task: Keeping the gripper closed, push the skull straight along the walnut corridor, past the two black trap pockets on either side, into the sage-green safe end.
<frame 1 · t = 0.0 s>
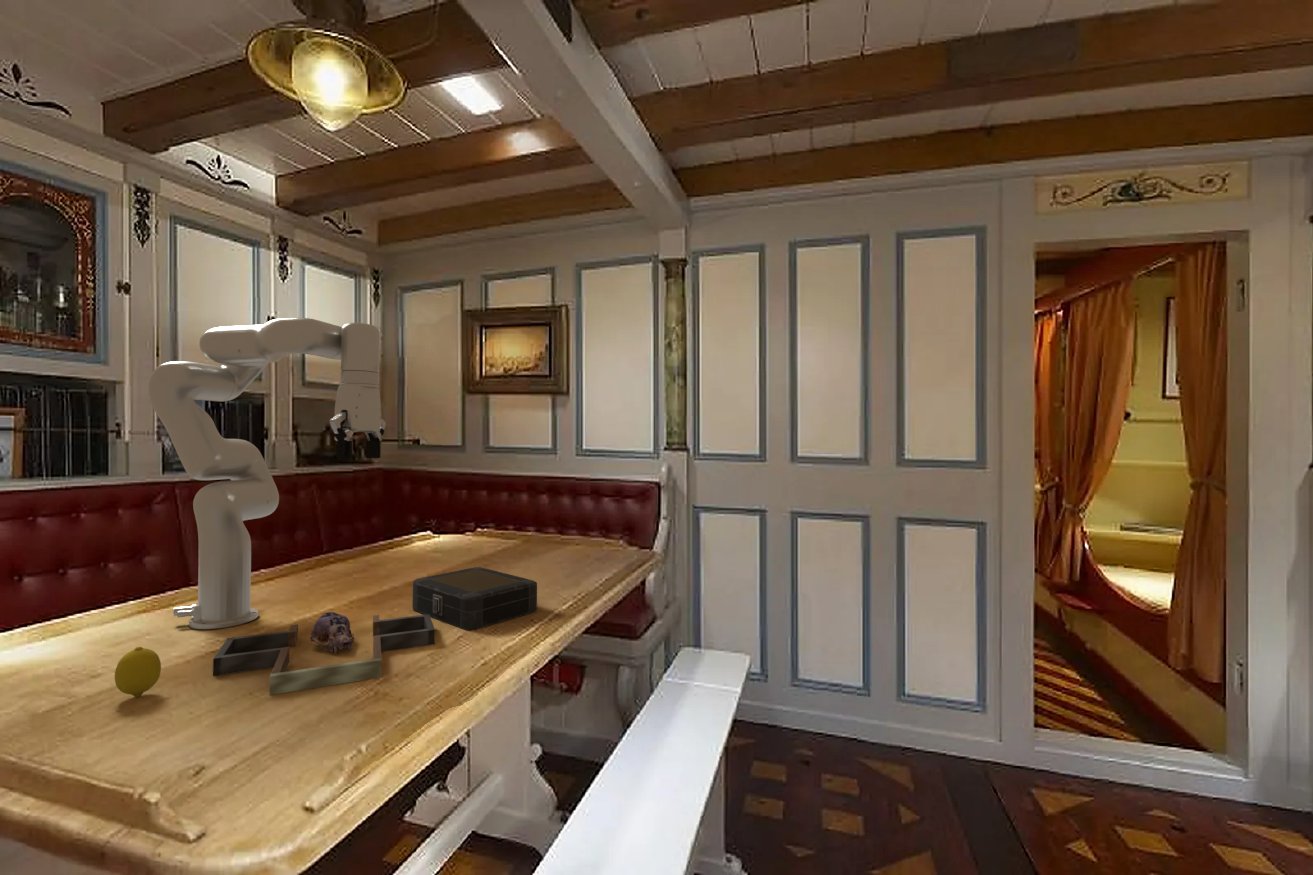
hand: (359, 458, 125), 37 cm above the table, tool pointing down, fingers open, 9 cm apart
skull: (334, 648, 115), on the table
cash box: (473, 612, 140), on the table
lemon: (137, 698, 92), on the table
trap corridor: (332, 655, 110), on the table
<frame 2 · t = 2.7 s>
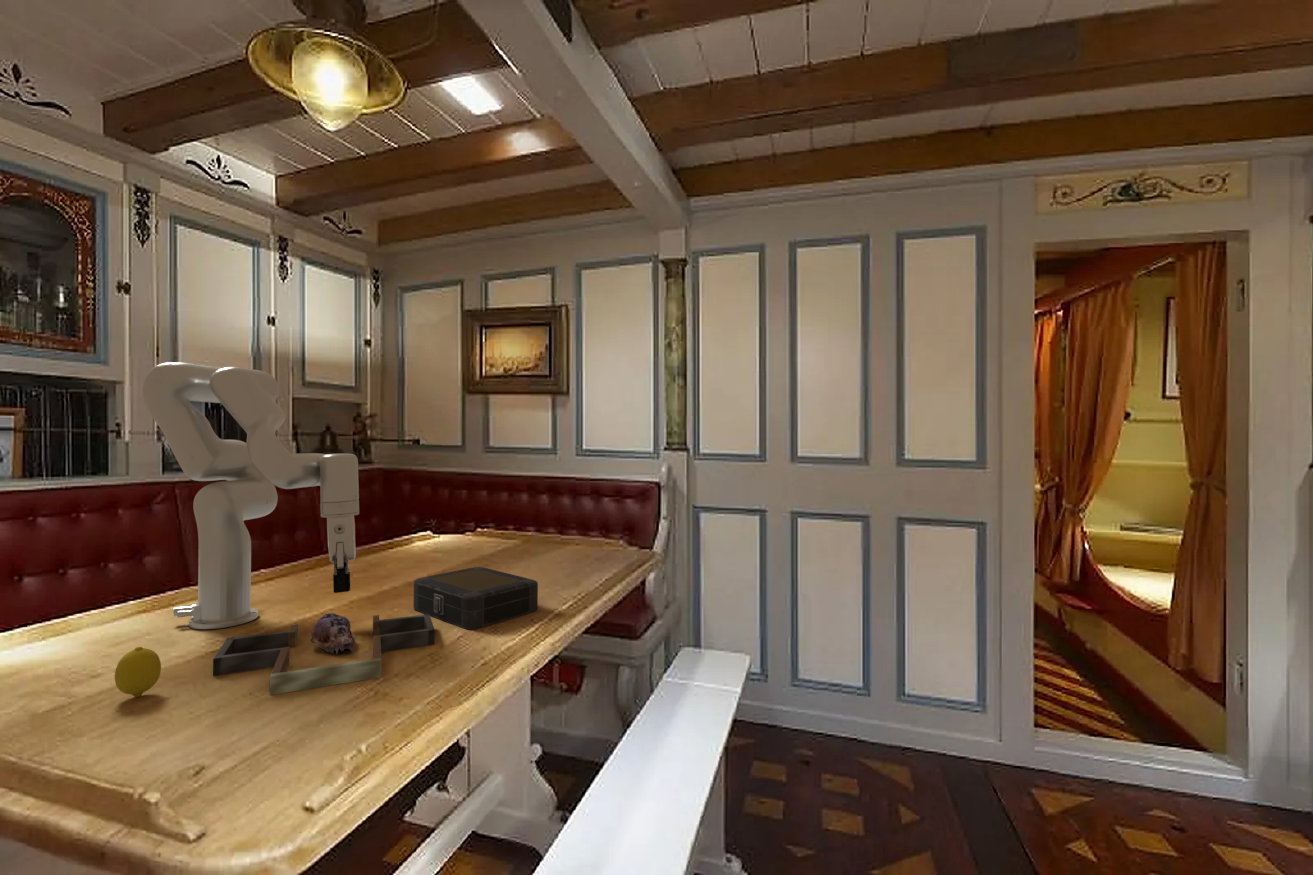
hand: (342, 591, 128), 8 cm above the table, tool pointing down, fingers closed
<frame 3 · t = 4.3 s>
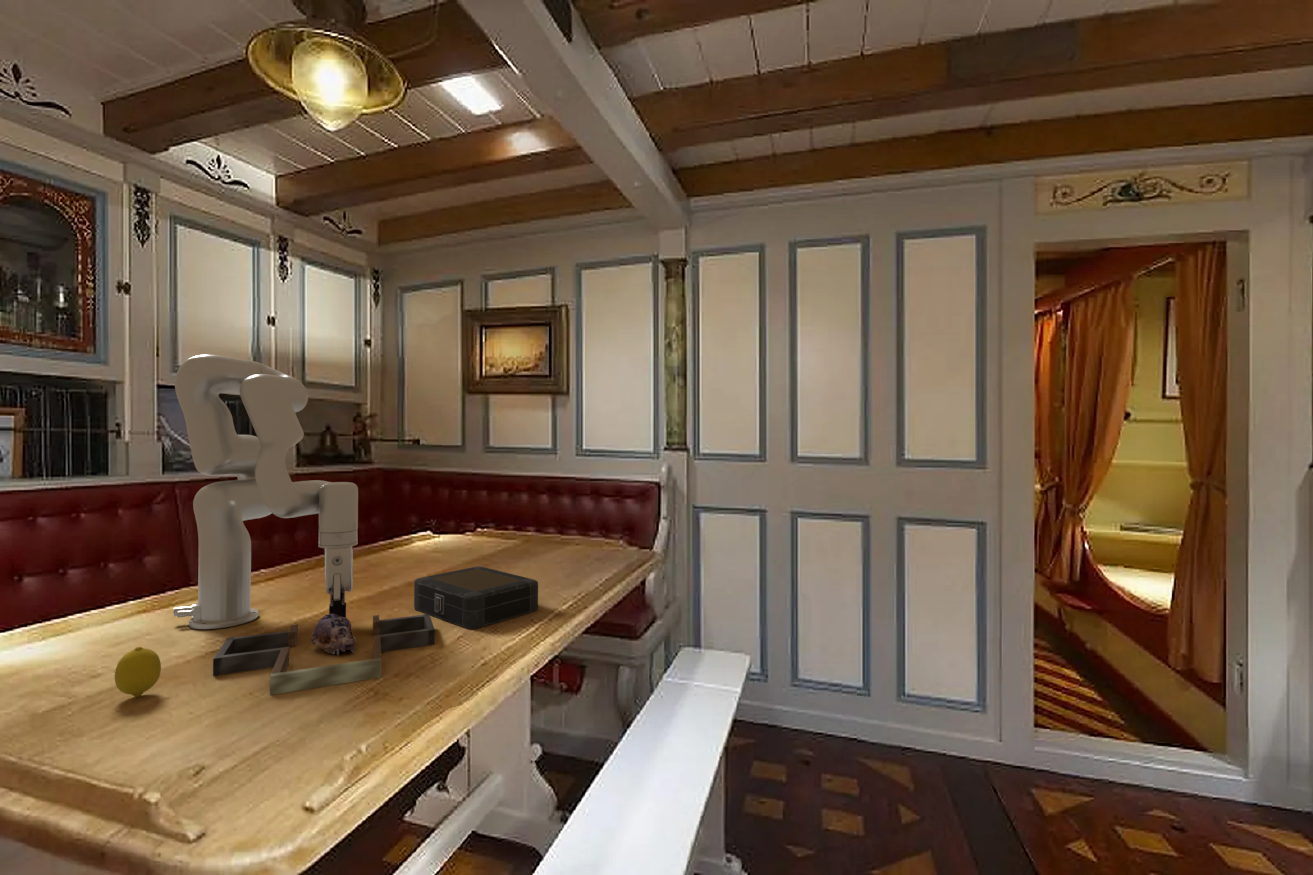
hand: (337, 622, 126), 1 cm above the table, tool pointing down, fingers closed
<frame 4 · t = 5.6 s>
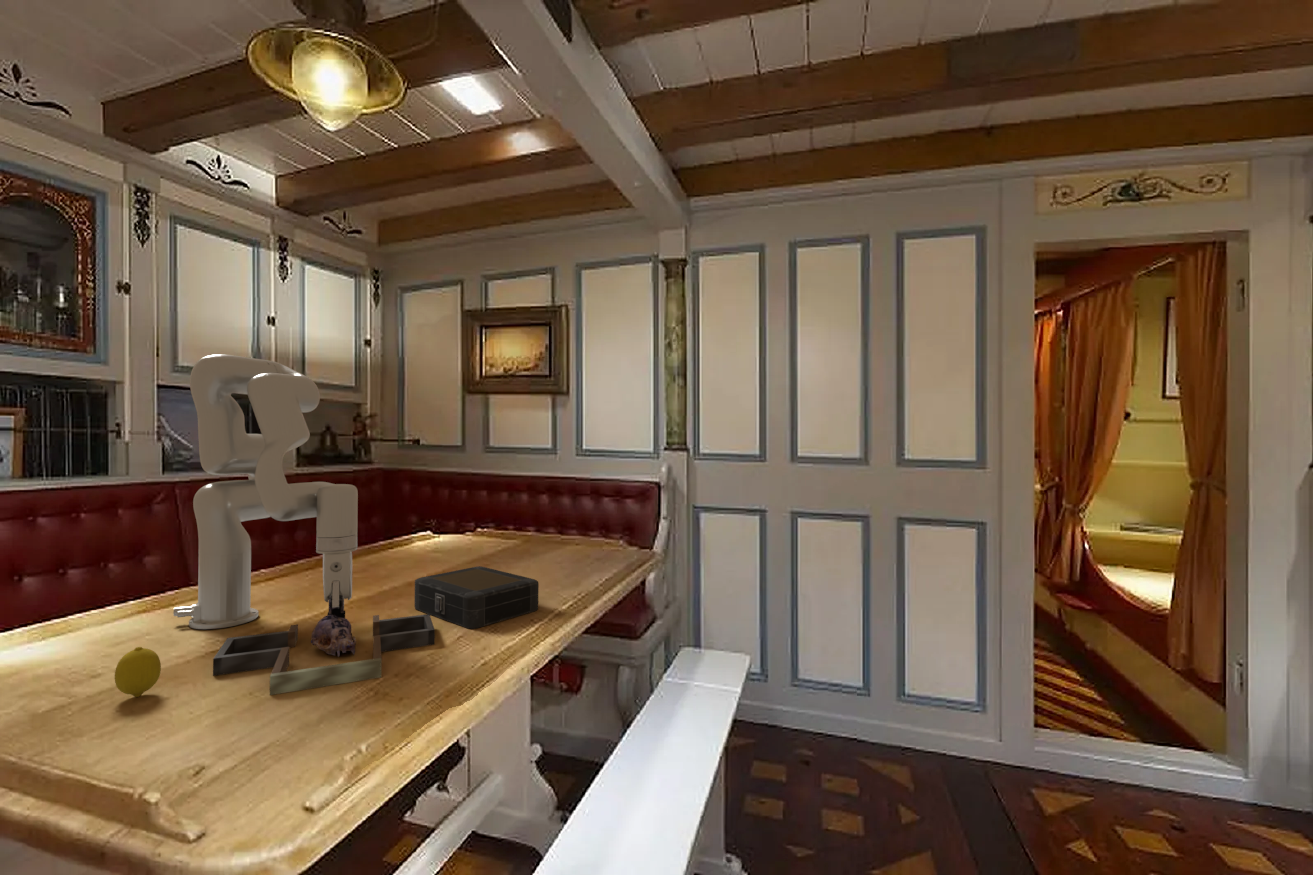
hand: (336, 631, 120), 1 cm above the table, tool pointing down, fingers closed
skull: (335, 652, 113), on the table, touching gripper
everything else where it was.
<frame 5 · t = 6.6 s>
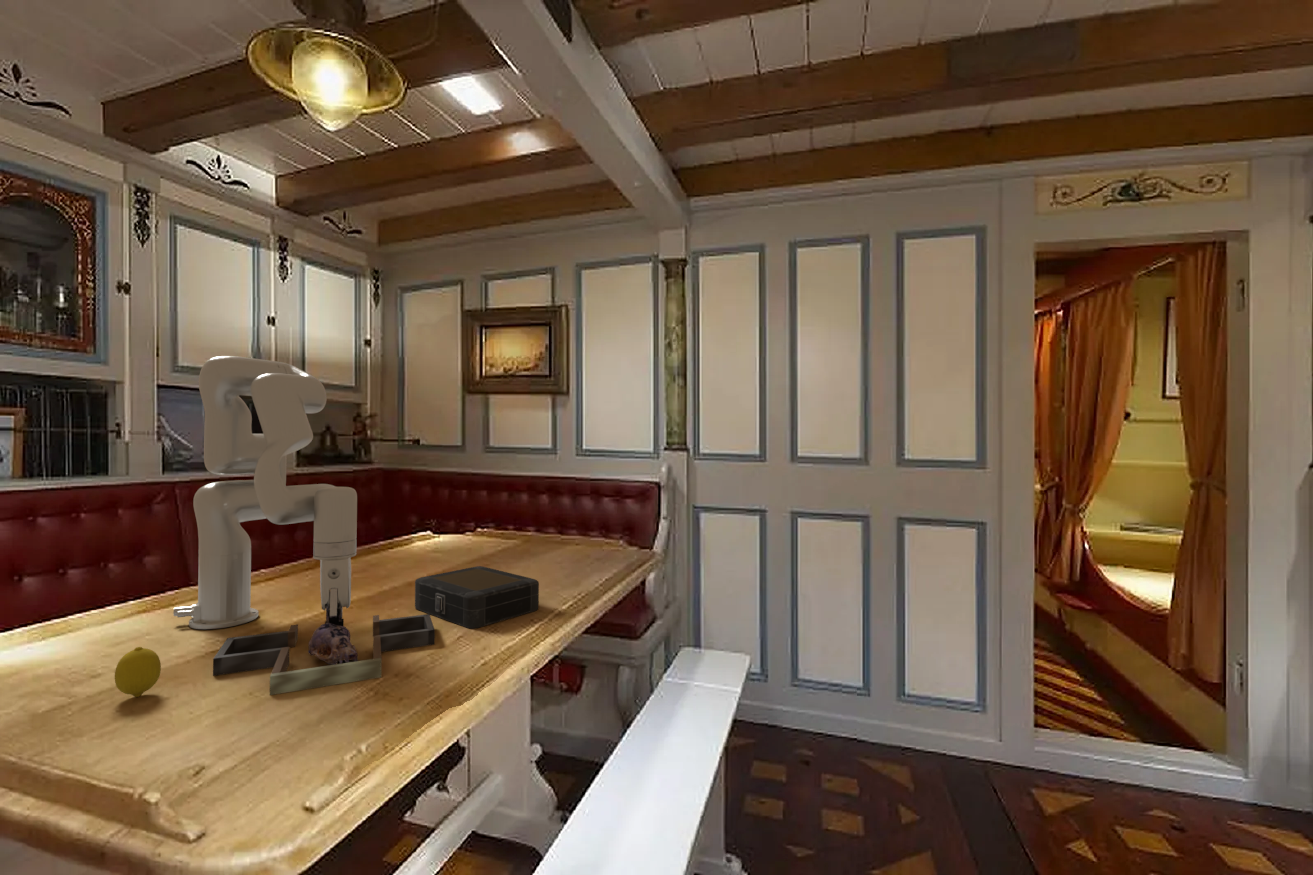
hand: (334, 640, 115), 1 cm above the table, tool pointing down, fingers closed
skull: (335, 661, 108), on the table, touching gripper
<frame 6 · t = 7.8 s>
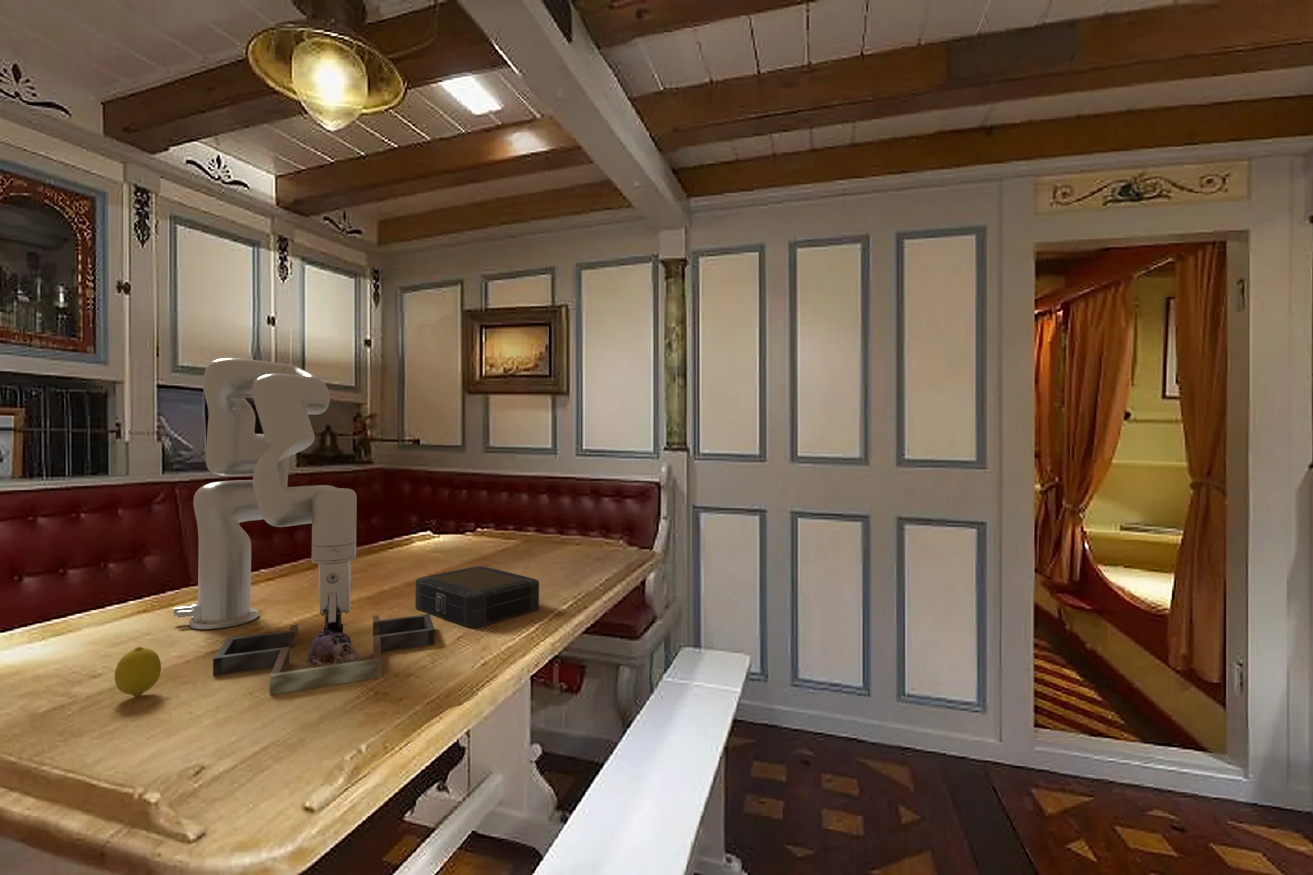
hand: (333, 646, 111), 1 cm above the table, tool pointing down, fingers closed
skull: (336, 669, 105), on the table, touching gripper
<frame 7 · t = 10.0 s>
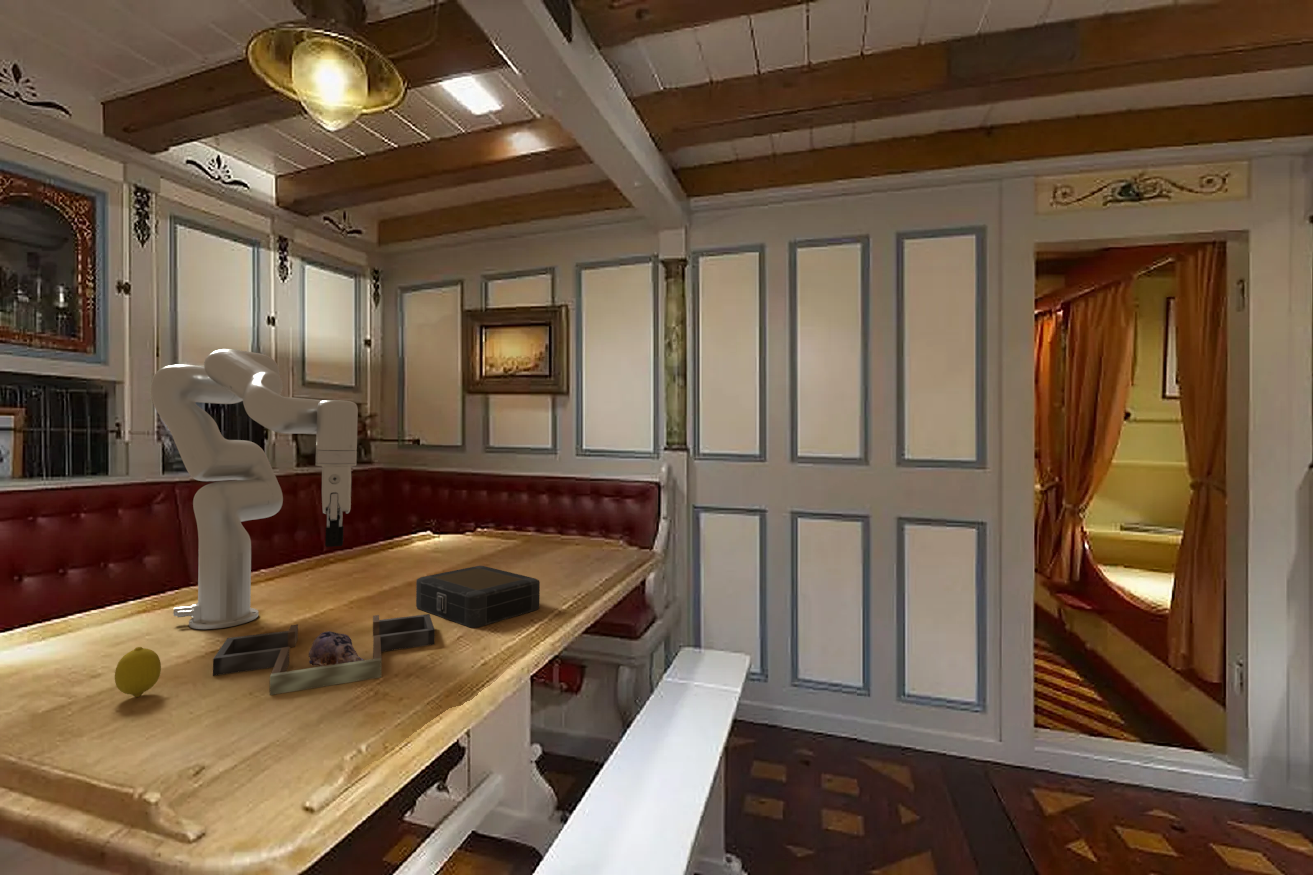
hand: (334, 545, 121), 19 cm above the table, tool pointing down, fingers closed
skull: (338, 671, 104), on the table
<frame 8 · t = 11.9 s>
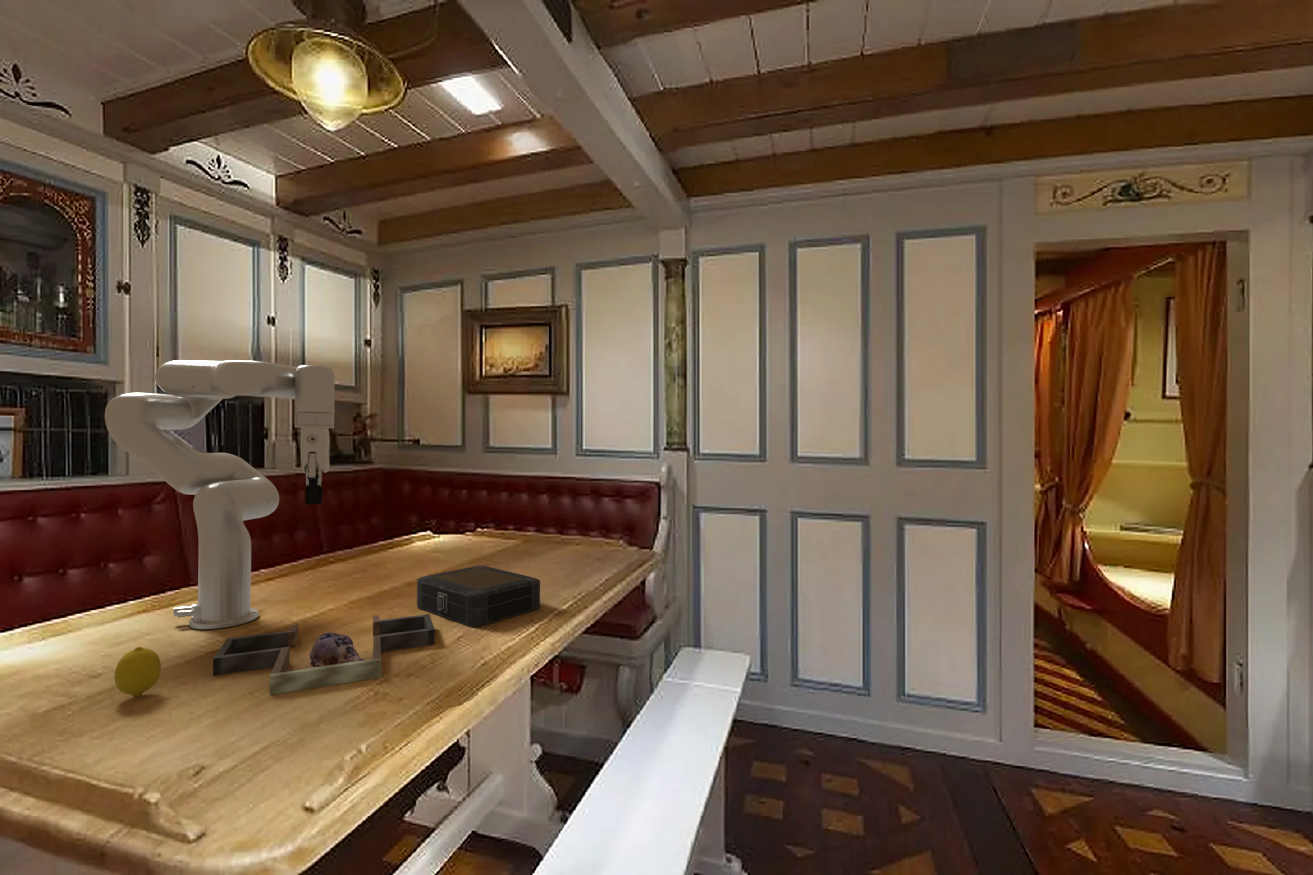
hand: (313, 503, 127), 27 cm above the table, tool pointing down, fingers closed
at the end: skull inside the target area (2.0 cm from its centre), on the table; skull tilted 0°; the gripper is holding nothing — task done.
